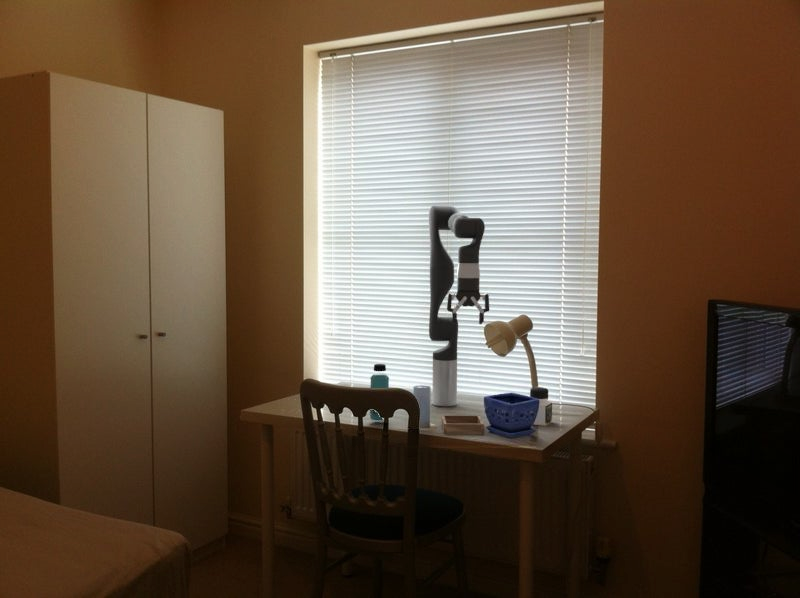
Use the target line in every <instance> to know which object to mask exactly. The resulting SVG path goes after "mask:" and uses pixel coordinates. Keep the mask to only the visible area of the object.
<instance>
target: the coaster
mask: <svg viewBox="0 0 800 598" xmlns="http://www.w3.org/2000/svg"><path fill="white" fill-rule="evenodd" d="M437 427H438V426H437V425H436V424H434V423H431V422H430V427H429V428H420V430H419V431H431V430H435V429H437ZM406 428H407V425H406Z"/></svg>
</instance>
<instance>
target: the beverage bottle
mask: <svg viewBox="0 0 800 598" xmlns="http://www.w3.org/2000/svg"><path fill="white" fill-rule="evenodd" d="M373 365H374V366H373V371H374V372H378V373H373V374H372V375H371V376H370V388H390V387H389V386H390V383H389V381H390V377H389V375H388V374H386V373H381V372H386V371H387V367H386V366H387V365H386V364H383V363H376V364H373ZM379 372H380V373H379ZM370 388H369V389H370ZM369 418H370V420H372V421H380V422H381V421H384V420H383V419H382V418H381V417H379V415H378V413H377V412H375V411H374V410H370V409H369Z"/></svg>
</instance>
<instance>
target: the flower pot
mask: <svg viewBox="0 0 800 598" xmlns="http://www.w3.org/2000/svg"><path fill="white" fill-rule="evenodd" d="M539 403H540V401H539V399H536V398H533V397H530V395H529V396H528V395H526V394H525V395H524V394H520V393H517V392H505V393H497V394H492V395H486V396H484V397H483V407H484V413H485V415H486V419H487V421H488V423H489V425H486V430H488V431H489V433H492V434H496V435H499V436H502V437H504V438H505V437H506V438H508V439H514V438H519V437H525V436H532V435H533V434H534V433H535V432H536V431H537V429H536V428H534V427H533V425H534V424H533V423H534V422H535V419H536V417H537V414H538V409H539Z"/></svg>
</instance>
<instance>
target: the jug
mask: <svg viewBox="0 0 800 598" xmlns="http://www.w3.org/2000/svg"><path fill="white" fill-rule="evenodd" d="M412 388H413V390H412V391H413V392H412V395H414V396H415V397H416V399H417V401H418V403H419V406H420V428H429V427H430V423H431V402H432V401H431V400H432V398H431V397H432V395H431V388H432V387H431V386H430V385H425V384H424V385H414V386H413V387H412Z"/></svg>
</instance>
